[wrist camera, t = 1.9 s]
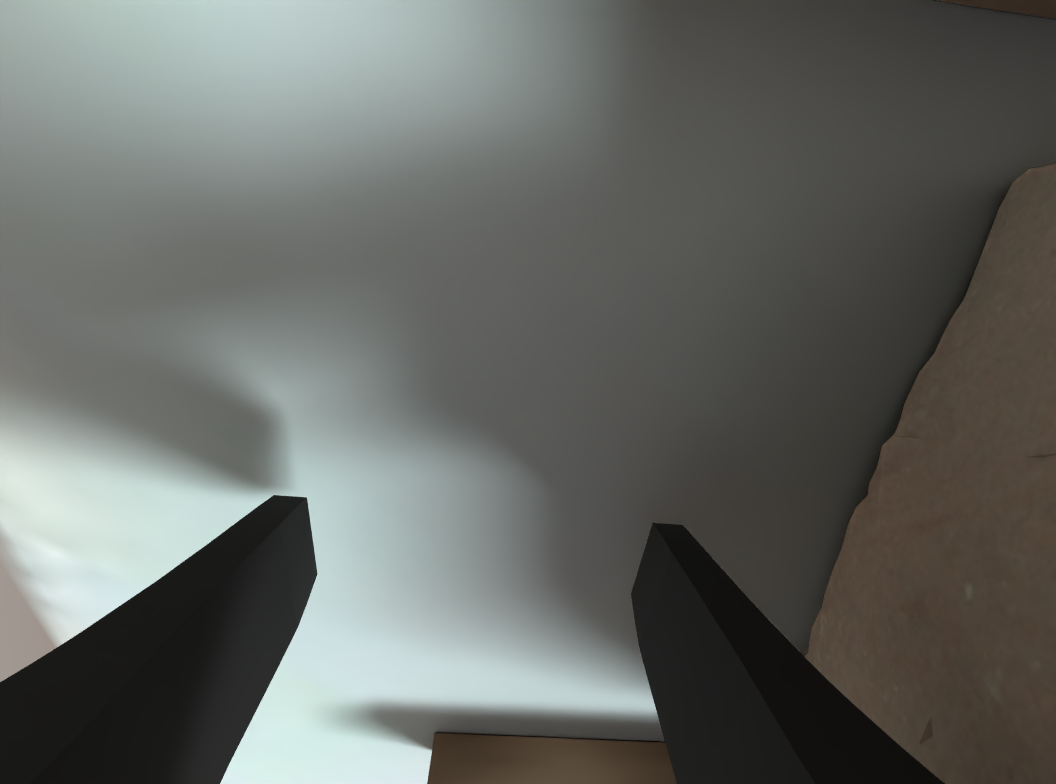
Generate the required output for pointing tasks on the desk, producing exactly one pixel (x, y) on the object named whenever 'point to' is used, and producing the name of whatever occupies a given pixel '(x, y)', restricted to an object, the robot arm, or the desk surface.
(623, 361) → the desk surface
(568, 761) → the lane
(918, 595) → the brick
